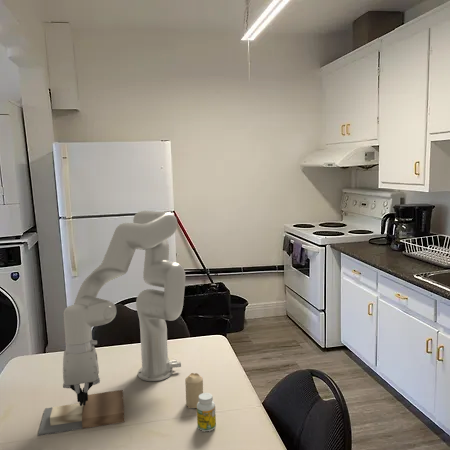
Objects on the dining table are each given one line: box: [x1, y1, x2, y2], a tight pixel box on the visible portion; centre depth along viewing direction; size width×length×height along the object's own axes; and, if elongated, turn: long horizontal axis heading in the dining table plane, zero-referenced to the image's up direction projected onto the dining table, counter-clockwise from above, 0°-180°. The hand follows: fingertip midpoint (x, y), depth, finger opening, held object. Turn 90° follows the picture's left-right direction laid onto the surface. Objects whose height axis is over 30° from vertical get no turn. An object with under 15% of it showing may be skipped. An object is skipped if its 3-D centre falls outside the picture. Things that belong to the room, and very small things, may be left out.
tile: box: [50, 402, 83, 426], centre depth 132 cm, size 9×6×2 cm, turn 104°
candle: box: [184, 372, 204, 409], centre depth 138 cm, size 6×6×10 cm
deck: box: [81, 389, 126, 430], centre depth 135 cm, size 12×14×3 cm
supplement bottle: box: [196, 392, 217, 432], centre depth 126 cm, size 5×5×10 cm
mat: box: [37, 406, 83, 437], centre depth 132 cm, size 12×14×1 cm
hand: (83, 403), depth 133 cm, fingers closed
